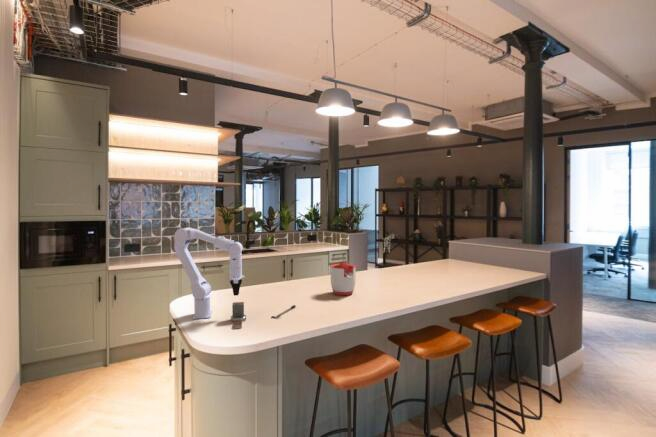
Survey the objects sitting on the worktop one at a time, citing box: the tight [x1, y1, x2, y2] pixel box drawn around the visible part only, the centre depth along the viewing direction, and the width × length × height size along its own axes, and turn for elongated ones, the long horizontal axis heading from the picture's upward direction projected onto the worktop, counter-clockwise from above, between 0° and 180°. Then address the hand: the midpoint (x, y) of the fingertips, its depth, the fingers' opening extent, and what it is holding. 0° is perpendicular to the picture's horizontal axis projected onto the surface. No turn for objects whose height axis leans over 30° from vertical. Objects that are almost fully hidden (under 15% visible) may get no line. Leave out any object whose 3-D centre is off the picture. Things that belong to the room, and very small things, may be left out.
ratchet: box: [230, 314, 247, 330], centre depth 166 cm, size 16×7×5 cm, turn 14°
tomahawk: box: [271, 304, 297, 320], centre depth 181 cm, size 21×7×1 cm, turn 155°
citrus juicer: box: [330, 260, 357, 296], centre depth 219 cm, size 16×17×20 cm
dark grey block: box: [231, 301, 245, 318], centre depth 170 cm, size 5×5×6 cm
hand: (236, 295), depth 175 cm, fingers closed
